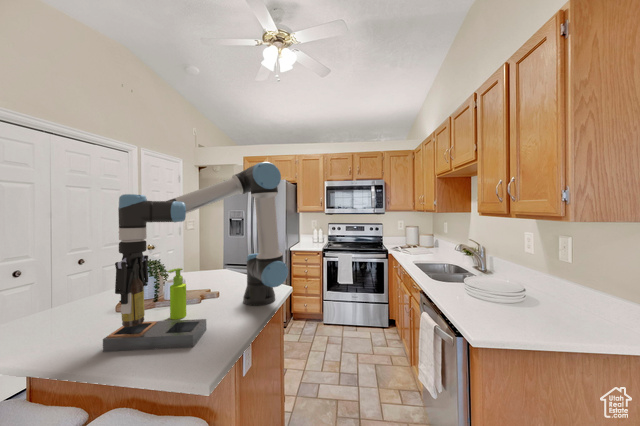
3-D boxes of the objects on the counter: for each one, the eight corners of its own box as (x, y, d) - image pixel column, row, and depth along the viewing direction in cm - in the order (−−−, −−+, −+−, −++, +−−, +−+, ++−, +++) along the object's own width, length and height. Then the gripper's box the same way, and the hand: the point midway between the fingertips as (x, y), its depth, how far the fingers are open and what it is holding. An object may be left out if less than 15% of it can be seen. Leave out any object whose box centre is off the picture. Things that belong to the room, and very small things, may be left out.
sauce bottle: (143, 318, 90) (143, 261, 90) (145, 324, 85) (145, 264, 85) (120, 323, 86) (120, 264, 86) (121, 329, 81) (121, 267, 81)
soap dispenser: (164, 318, 104) (164, 269, 103) (180, 312, 110) (180, 266, 110) (173, 321, 101) (172, 271, 101) (189, 315, 107) (189, 267, 107)
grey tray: (206, 329, 94) (206, 318, 94) (193, 347, 82) (193, 333, 82) (128, 333, 91) (128, 321, 91) (102, 351, 79) (102, 338, 79)
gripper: (138, 237, 95) (138, 299, 95) (98, 244, 76) (99, 321, 76) (159, 237, 96) (159, 299, 96) (125, 243, 76) (126, 320, 77)
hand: (133, 309), depth 86 cm, fingers closed on sauce bottle, 6 cm apart
